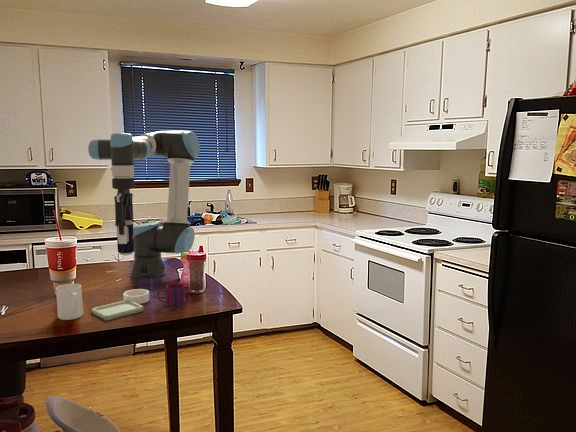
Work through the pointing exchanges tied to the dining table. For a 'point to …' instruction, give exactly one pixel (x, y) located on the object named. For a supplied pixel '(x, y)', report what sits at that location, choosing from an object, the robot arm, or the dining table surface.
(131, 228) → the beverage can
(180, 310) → the dining table surface
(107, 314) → the tray
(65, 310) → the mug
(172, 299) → the cup
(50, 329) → the dining table surface
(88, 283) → the dining table surface
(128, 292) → the white round dish
